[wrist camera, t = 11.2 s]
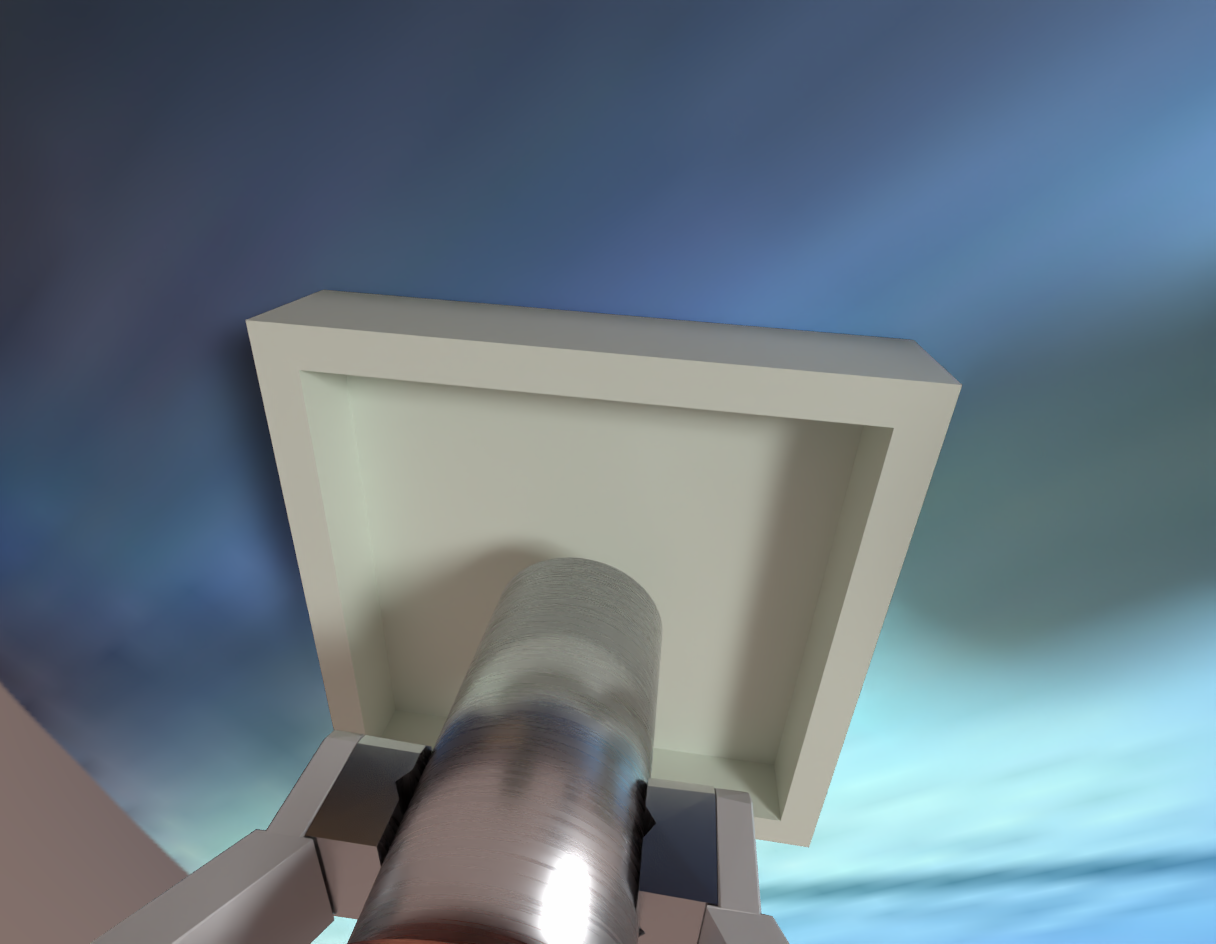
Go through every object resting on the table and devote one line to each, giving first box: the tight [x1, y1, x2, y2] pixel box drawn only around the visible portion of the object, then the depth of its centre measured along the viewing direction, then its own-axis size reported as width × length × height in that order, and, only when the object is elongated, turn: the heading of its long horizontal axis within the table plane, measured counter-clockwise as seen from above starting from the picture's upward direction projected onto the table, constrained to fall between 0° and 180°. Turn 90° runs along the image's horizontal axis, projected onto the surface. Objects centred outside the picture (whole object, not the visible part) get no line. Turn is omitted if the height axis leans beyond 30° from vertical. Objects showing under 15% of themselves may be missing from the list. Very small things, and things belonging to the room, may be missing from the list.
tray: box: [246, 290, 962, 847], centre depth 14 cm, size 12×12×2 cm
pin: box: [347, 557, 662, 944], centre depth 10 cm, size 4×4×8 cm
